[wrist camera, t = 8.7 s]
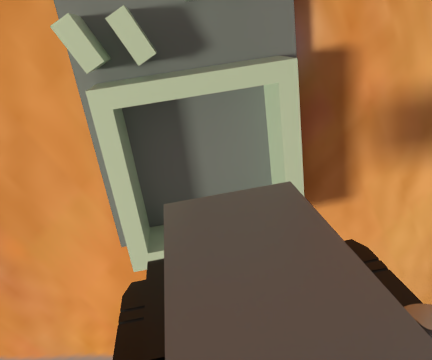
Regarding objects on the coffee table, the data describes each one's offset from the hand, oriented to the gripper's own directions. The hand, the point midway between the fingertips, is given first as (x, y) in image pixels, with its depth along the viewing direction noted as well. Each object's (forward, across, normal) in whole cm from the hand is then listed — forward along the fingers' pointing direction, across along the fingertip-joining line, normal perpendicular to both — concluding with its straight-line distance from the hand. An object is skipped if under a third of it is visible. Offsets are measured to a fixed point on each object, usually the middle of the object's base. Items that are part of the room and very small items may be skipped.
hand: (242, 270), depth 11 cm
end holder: (+12, 0, 0) cm, 12 cm away
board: (+13, 0, -4) cm, 14 cm away
